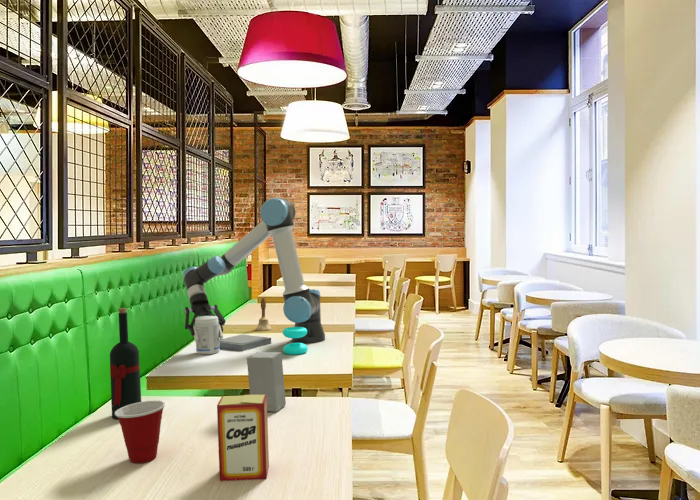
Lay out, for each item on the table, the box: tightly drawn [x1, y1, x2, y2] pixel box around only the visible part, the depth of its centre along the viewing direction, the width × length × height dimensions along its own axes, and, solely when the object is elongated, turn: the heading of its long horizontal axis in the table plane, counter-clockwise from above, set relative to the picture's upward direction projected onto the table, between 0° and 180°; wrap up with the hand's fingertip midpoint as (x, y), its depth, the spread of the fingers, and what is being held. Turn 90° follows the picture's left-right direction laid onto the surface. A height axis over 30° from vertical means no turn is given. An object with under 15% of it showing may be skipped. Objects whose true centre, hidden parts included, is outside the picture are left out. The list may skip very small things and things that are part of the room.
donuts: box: [282, 326, 309, 356], centre depth 245 cm, size 10×10×10 cm
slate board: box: [219, 334, 272, 352], centre depth 263 cm, size 18×18×3 cm
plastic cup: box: [115, 400, 166, 464], centre depth 135 cm, size 11×11×12 cm
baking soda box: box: [216, 394, 270, 482], centre depth 125 cm, size 10×6×16 cm
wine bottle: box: [109, 307, 142, 421], centre depth 165 cm, size 8×10×30 cm
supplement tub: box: [194, 315, 221, 356], centre depth 249 cm, size 10×10×15 cm
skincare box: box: [246, 351, 287, 413], centre depth 170 cm, size 8×7×16 cm
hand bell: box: [255, 297, 273, 332], centre depth 303 cm, size 8×8×16 cm
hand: (209, 339), depth 246 cm, fingers closed on supplement tub, 9 cm apart
